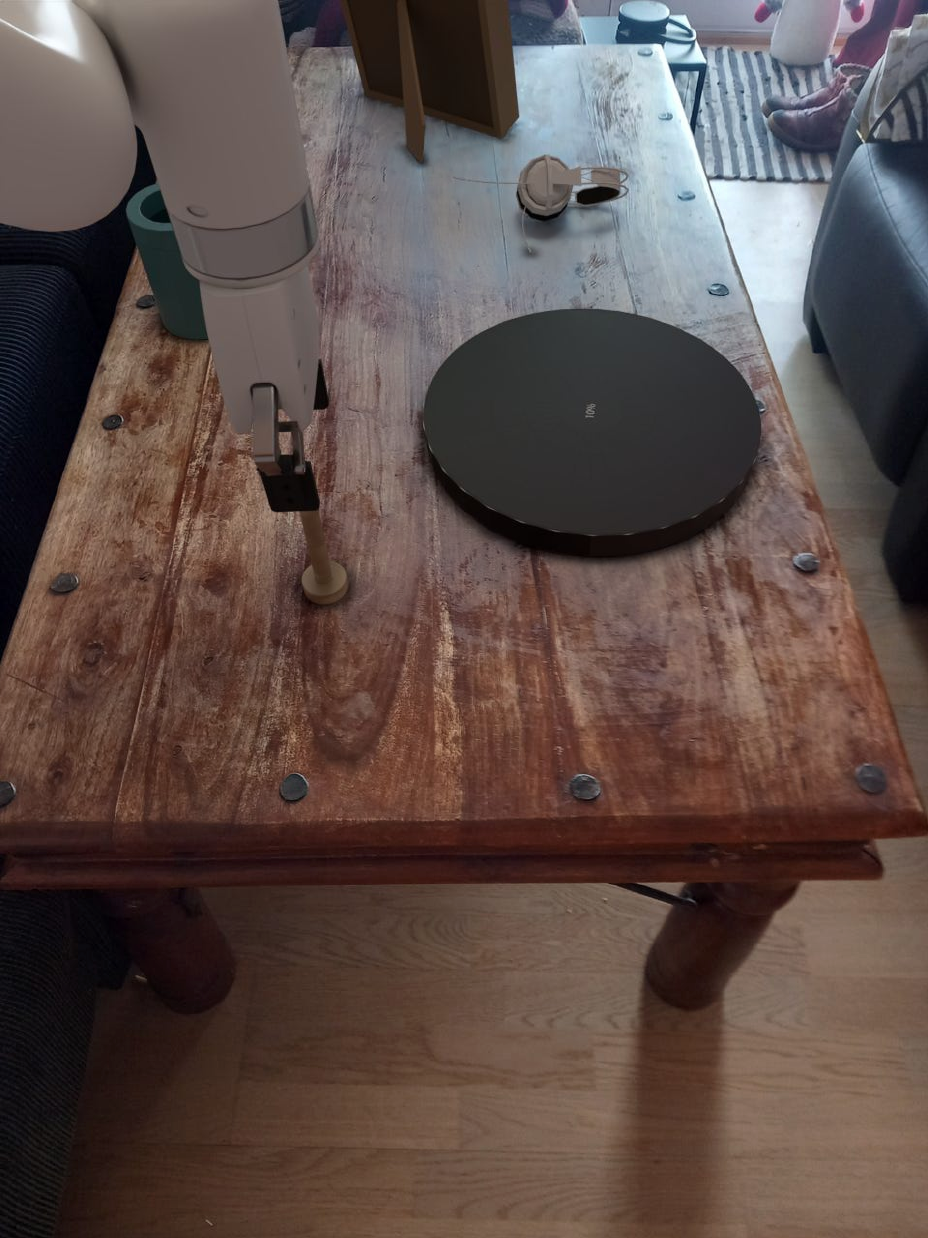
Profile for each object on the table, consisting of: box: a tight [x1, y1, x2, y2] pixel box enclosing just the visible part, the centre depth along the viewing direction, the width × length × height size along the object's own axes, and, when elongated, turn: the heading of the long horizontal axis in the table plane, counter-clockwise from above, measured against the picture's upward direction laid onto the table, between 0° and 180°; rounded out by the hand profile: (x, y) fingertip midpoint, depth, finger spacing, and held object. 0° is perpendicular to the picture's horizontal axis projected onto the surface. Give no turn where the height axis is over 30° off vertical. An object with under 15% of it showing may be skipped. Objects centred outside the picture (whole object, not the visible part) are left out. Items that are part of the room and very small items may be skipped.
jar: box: [125, 182, 209, 341], centre depth 91 cm, size 9×9×12 cm
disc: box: [422, 307, 762, 558], centre depth 83 cm, size 30×30×3 cm
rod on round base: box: [299, 509, 349, 605], centre depth 71 cm, size 4×4×10 cm
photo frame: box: [340, 0, 520, 163], centre depth 108 cm, size 15×22×25 cm
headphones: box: [452, 154, 630, 254], centre depth 101 cm, size 8×10×20 cm
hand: (302, 455), depth 63 cm, fingers open, 9 cm apart
